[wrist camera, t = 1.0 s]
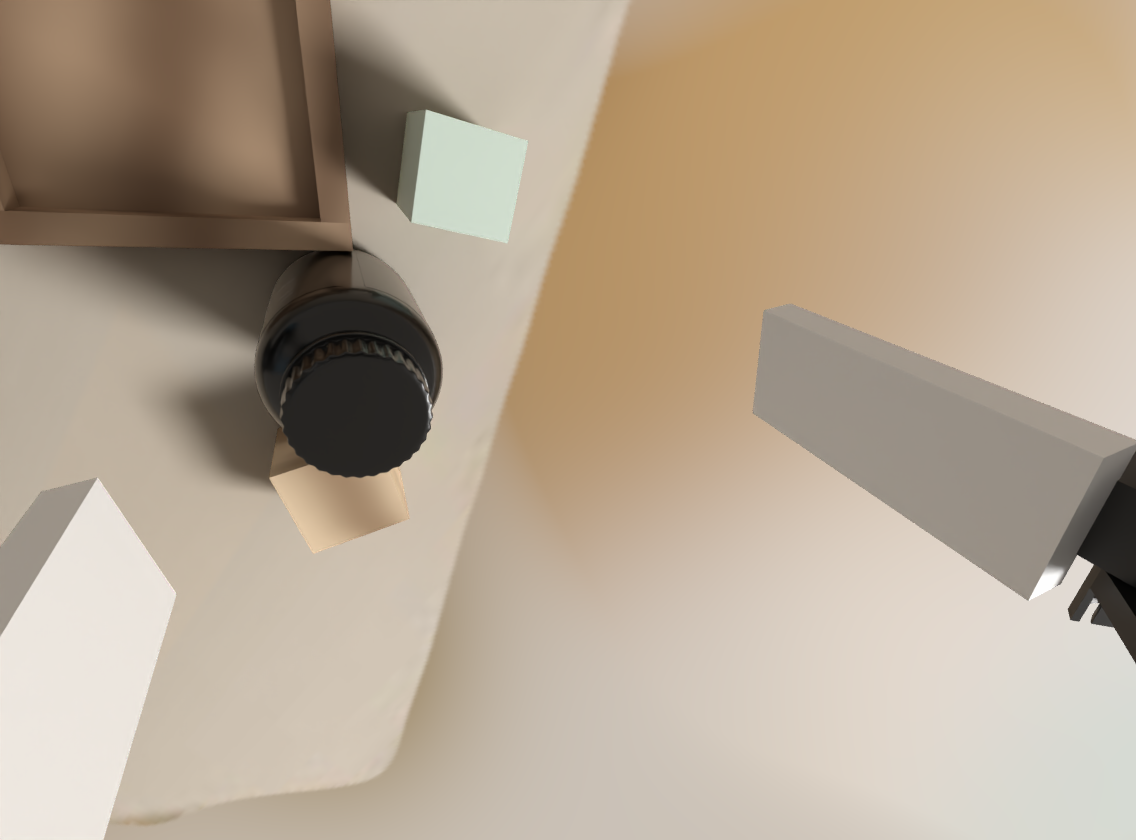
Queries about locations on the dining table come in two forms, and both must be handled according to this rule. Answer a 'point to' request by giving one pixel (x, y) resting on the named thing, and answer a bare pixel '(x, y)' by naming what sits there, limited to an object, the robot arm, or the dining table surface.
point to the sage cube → (459, 175)
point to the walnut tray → (171, 125)
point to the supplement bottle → (348, 364)
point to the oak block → (334, 499)
